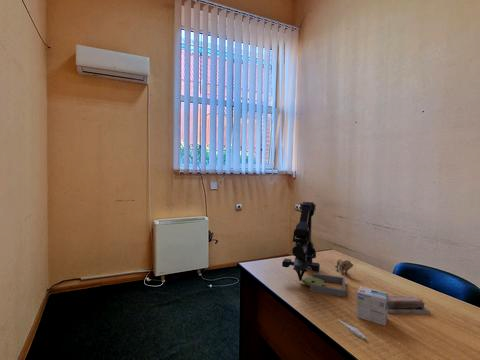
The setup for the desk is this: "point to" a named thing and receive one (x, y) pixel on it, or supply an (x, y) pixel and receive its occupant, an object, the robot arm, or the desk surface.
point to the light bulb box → (372, 305)
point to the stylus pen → (353, 330)
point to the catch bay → (327, 289)
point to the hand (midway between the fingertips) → (300, 280)
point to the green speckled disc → (313, 281)
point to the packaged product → (406, 305)
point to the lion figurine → (344, 265)
